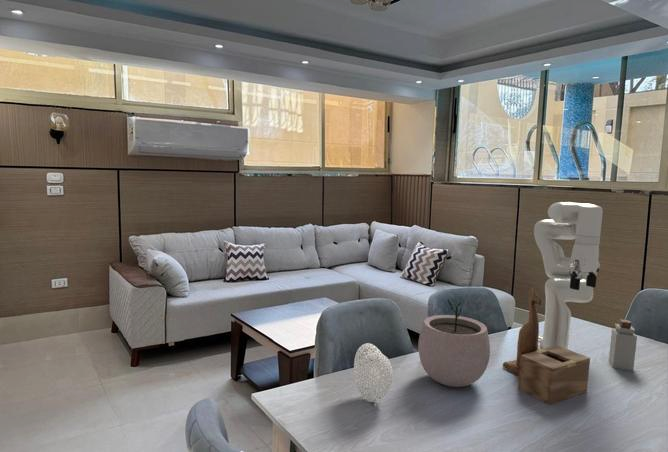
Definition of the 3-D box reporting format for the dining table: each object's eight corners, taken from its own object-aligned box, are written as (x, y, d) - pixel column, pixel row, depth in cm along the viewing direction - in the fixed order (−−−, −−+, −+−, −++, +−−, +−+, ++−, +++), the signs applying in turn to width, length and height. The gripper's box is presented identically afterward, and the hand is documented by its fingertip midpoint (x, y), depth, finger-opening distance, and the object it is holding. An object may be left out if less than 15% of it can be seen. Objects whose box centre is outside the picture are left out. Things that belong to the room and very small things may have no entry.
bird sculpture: (525, 382, 159) (536, 294, 155) (501, 367, 170) (510, 285, 165) (548, 377, 164) (559, 292, 159) (523, 363, 174) (532, 283, 170)
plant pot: (499, 382, 157) (505, 299, 154) (467, 406, 140) (473, 313, 136) (438, 361, 173) (443, 285, 170) (403, 381, 156) (407, 297, 152)
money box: (517, 388, 153) (520, 355, 151) (554, 377, 163) (557, 345, 161) (549, 405, 142) (552, 368, 141) (586, 391, 152) (590, 357, 151)
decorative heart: (398, 414, 134) (401, 359, 132) (365, 418, 131) (367, 362, 129) (376, 386, 151) (378, 337, 149) (346, 389, 148) (348, 340, 146)
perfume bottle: (628, 363, 177) (633, 319, 175) (633, 370, 171) (638, 324, 169) (608, 360, 179) (613, 317, 177) (613, 367, 173) (617, 322, 171)
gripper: (591, 237, 165) (586, 283, 167) (562, 240, 157) (557, 287, 159) (612, 240, 159) (607, 288, 161) (583, 243, 150) (578, 292, 152)
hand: (582, 287), depth 160 cm, fingers open, 9 cm apart
